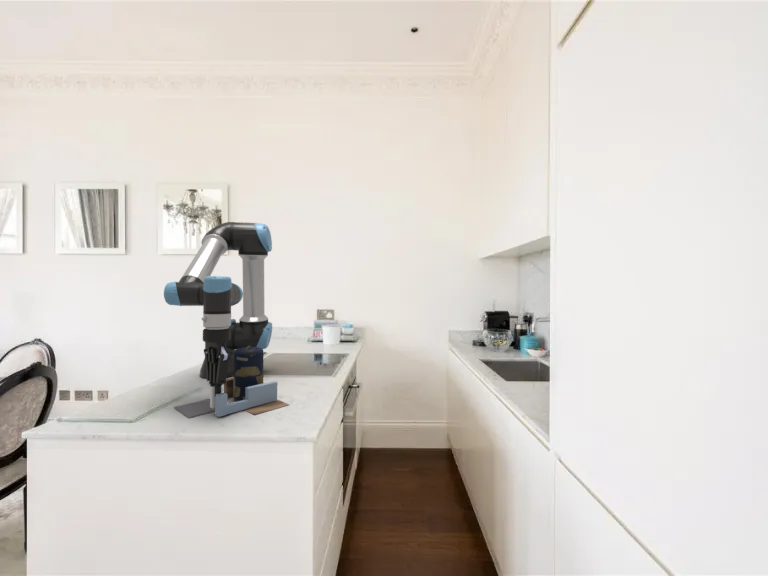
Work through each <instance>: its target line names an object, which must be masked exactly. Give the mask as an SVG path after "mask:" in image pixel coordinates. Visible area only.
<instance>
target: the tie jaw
mask: <svg viewBox="0 0 768 576" xmlns="http://www.w3.org/2000/svg"><path fill="white" fill-rule="evenodd" d="M227 396H228V394H226V393H224V392H222V393H219V394H216V399H215V413H214V415H215V416H216V417H218V418H219V417H224V416H227V415H229V414H232V413H236V412H240V411H245V410H244V409H248V408H250V407H254V406H258V405H261V404H265V403H269V402H272V401H276V400H277V399H278V381H275V380H272V381H269V382H263V384H259V385H254V386H250V387H245V400H241V401H237V400H236V401H234V402H230V403H228V398H227Z"/></svg>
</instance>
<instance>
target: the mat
mask: <svg viewBox="0 0 768 576" xmlns="http://www.w3.org/2000/svg"><path fill="white" fill-rule="evenodd" d="M173 409H175V410H176V411H177V412H179V413H180V414H182V415H183V416H184V417H186V418H187V419H191V418H195V417H200V416H204V415H206V414H210V413H214V412H215V408H211V407H210V398H206V399H202V400H198V401H194V402H190V403H185V404H181V405H175V406H173Z"/></svg>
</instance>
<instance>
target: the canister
mask: <svg viewBox="0 0 768 576" xmlns="http://www.w3.org/2000/svg"><path fill="white" fill-rule="evenodd" d="M264 377H265V375H264V349H262V348H259V347H251V346H248V347H244V348H239V349H236V350H235V351H234V371H233V376H232V378H233V397H232V398H233V399H234V400H235V401H236V402H237V401H241V400H245V387H250V386H254V385H259V384H263V383H264Z"/></svg>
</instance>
